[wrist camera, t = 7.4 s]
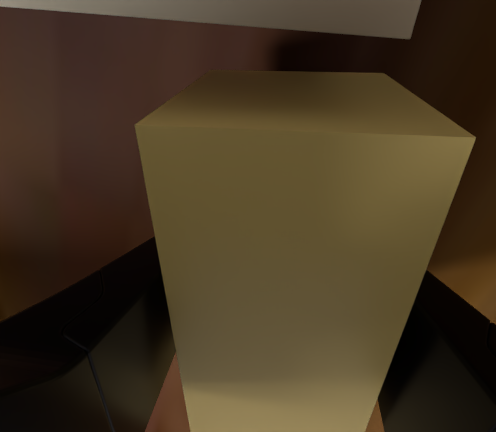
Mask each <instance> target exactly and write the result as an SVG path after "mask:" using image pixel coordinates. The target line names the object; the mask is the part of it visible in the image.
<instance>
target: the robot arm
mask: <svg viewBox="0 0 496 432" xmlns="http://www.w3.org/2000/svg"><path fill="white" fill-rule="evenodd" d="M175 352H176V348H175V343H174V337H173V332H172V327H171V321H170V316H169V310H168V305H167V299H166V294H165V288H164V283H163V277H162V272H161V267H160V261H159V256H158V250H157V245H156V239H155V236H154V237H153V238H151V239H149V240H148V241H146V242H144V243H143V244H141V245H139V246H138V247H136V248H134V249H133V250H131V251H129V252H128V253H126V254H124V255H123V256H121V257H119V258H117V259H116V260H114V261H112V262H111V263H109V264H107V265H106V266H104V267H102V268H101V269H100V271H99V270H97V271H95V272H94V273H92V274H90V275H89V276H87V277H85V278H84V279H82V280H80V281H78V282H77V283H75V284H73V285H71V286H69V287H68V288H66V289H64V290H62V291H60V292H58V293H57V294H55V295H53V296H51V297H49V298H47V299H45V300H43V301H41V302H39V303H37V304H35V305H33V306H31V307H29V308H27V309H25V310H23V311H21V312H19V313H17V314H15V315H13V316H11V317H9V318H7V319H5V320H3V321H1V322H0V432H145V429H146V427H147V424H148V422H149V419H150V416H151V414H152V411H153V409H154V406H155V403H156V401H157V398H158V396H159V393H160V390H161V388H162V385H163V383H164V380H165V378H166V375H167V372H168V370H169V367H170V365H171V362H172V359H173V357H174V354H175ZM378 402H379V407H380V412H381V417H382V422H383V426H384V431H385V432H496V325H495V324H494V323H490V320H489V319H488V318H486V317H485V316H484V315H483V314H481V313H480V312H479V311H478V310H476V309H475V308H474V307H473V306H471V305H470V304H469V303H468V302H466V301H465V300H464V299H463V298H461V297H460V296H459V295H458V294H456V293H455V292H454V291H452V290H451V289H450V288H449V287H447V286H446V285H445V284H444V283H442V282H441V281H440V280H439V279H437V278H436V277H435V276H434V275H432V274H431V273H430V272H429V271H427V270H426V271H425V274H424V277H423V279H422V282H421V285H420V287H419V290H418V292H417V295H416V298H415V300H414V303H413V306H412V308H411V311H410V314H409V316H408V319H407V322H406V324H405V327H404V329H403V332H402V335H401V337H400V340H399V343H398V345H397V348H396V351H395V353H394V356H393V358H392V361H391V364H390V366H389V369H388V372H387V374H386V377H385V380H384V382H383V385H382V387H381V390H380V393H379V395H378Z"/></svg>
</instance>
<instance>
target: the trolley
mask: <svg viewBox="0 0 496 432" xmlns="http://www.w3.org/2000/svg"><path fill="white" fill-rule="evenodd" d="M420 4H421V0H0V6H2V7H14V8H27V9H39V10H52V11H64V12H77V13H89V14H102V15H114V16H126V17H139V18H151V19H164V20H176V21H189V22H201V23H214V24H226V25H238V26H251V27H263V28H276V29H288V30H301V31H313V32H326V33H338V34H351V35H363V36H375V37H388V38H400V39H410V38H411V35H412V31H413V28H414V24H415V21H416V17H417V14H418V11H419V7H420Z"/></svg>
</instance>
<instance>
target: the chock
mask: <svg viewBox="0 0 496 432" xmlns="http://www.w3.org/2000/svg"><path fill="white" fill-rule="evenodd" d="M135 130H136V136H137V141H138V147H139V152H140V157H141V163H142V168H143V174H144V179H145V185H146V190H147V196H148V201H149V207H150V212H151V217H152V223H153V228H154V234H155V239H156V245H157V250H158V256H159V261H160V267H161V272H162V277H163V283H164V288H165V294H166V299H167V305H168V310H169V316H170V321H171V327H172V332H173V337H174V343H175V348H176V354H177V359H178V365H179V370H180V376H181V381H182V387H183V392H184V397H185V403H186V408H187V414H188V419H189V425H190V430H191V432H365V430H366V427H367V424H368V422H369V419H370V416H371V414H372V411H373V409H374V406H375V403H376V401H377V398H378V395H379V393H380V390H381V387H382V385H383V382H384V380H385V377H386V374H387V372H388V369H389V366H390V364H391V361H392V358H393V356H394V353H395V351H396V348H397V345H398V343H399V340H400V337H401V335H402V332H403V329H404V327H405V324H406V322H407V319H408V316H409V314H410V311H411V308H412V306H413V303H414V300H415V298H416V295H417V292H418V290H419V287H420V285H421V282H422V279H423V277H424V274H425V271H426V269H427V266H428V263H429V261H430V258H431V256H432V253H433V250H434V248H435V245H436V242H437V240H438V237H439V234H440V232H441V229H442V227H443V224H444V221H445V219H446V216H447V213H448V211H449V208H450V205H451V203H452V200H453V198H454V195H455V192H456V190H457V187H458V184H459V182H460V179H461V176H462V174H463V171H464V168H465V166H466V163H467V161H468V158H469V155H470V153H471V150H472V147H473V145H474V142H475V139H476V137H475V136H473V135H472V134H470V133H469V132H467V131H466V130H465V129H463V128H462V127H460V126H459V125H457V124H456V123H455V122H453V121H452V120H450V119H449V118H447V117H446V116H445V115H443V114H442V113H440V112H439V111H437V110H436V109H435V108H433V107H432V106H430V105H429V104H427V103H426V102H425V101H423V100H422V99H420V98H419V97H417V96H416V95H415V94H413V93H412V92H410V91H409V90H407V89H406V88H405V87H403V86H402V85H400V84H399V83H397V82H396V81H394V80H393V79H392V78H390V77H389V76H387V75H386V74H384V73H354V72H302V71H250V70H210V71H209V72H207V73H206V74H205V75H203V76H202V77H200V78H199V79H198V80H196V81H195V82H193V83H192V84H191V85H189V86H188V87H187V88H185V89H184V90H182V91H181V92H180V93H178V94H177V95H175V96H174V97H173V98H171V99H170V100H168V101H167V102H166V103H164V104H163V105H162V106H160V107H159V108H157V109H156V110H155V111H153V112H152V113H150V114H149V115H148V116H146V117H145V118H143V119H142V120H141V121H139V122H138V123H137V124H135Z"/></svg>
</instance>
